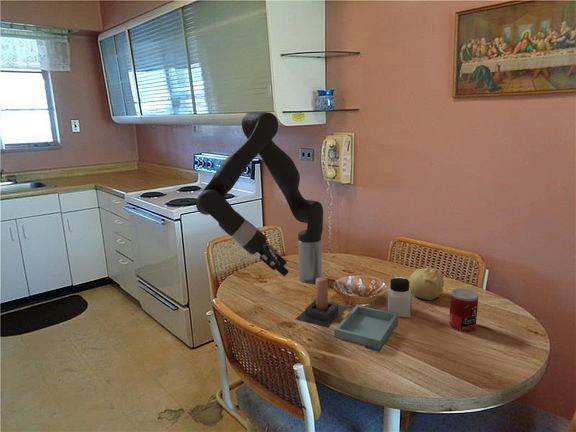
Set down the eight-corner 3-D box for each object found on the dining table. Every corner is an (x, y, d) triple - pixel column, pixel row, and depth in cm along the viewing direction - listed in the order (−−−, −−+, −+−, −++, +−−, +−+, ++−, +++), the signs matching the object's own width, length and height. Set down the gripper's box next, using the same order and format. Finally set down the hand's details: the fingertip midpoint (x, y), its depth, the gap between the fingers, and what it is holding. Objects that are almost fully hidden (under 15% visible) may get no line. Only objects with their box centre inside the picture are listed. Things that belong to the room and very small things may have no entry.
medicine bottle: (410, 318, 135) (412, 284, 132) (388, 316, 136) (389, 282, 133) (408, 308, 142) (410, 275, 139) (387, 306, 143) (388, 274, 140)
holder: (316, 302, 148) (316, 293, 147) (347, 309, 142) (347, 300, 141) (294, 322, 135) (294, 312, 134) (328, 330, 129) (327, 320, 128)
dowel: (319, 309, 141) (318, 276, 138) (329, 311, 139) (329, 278, 136) (314, 314, 137) (313, 280, 135) (324, 316, 135) (324, 282, 133)
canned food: (464, 334, 124) (466, 301, 121) (443, 323, 131) (445, 291, 128) (481, 328, 127) (484, 295, 124) (460, 317, 134) (462, 286, 131)
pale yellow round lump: (439, 305, 143) (440, 276, 140) (404, 298, 149) (405, 270, 146) (446, 293, 152) (447, 265, 150) (413, 287, 158) (414, 260, 156)
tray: (356, 314, 138) (356, 305, 137) (397, 323, 131) (398, 313, 130) (334, 339, 123) (334, 329, 122) (379, 351, 116) (380, 340, 115)
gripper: (256, 234, 122) (295, 268, 126) (256, 222, 136) (291, 253, 140) (239, 252, 123) (279, 285, 127) (241, 238, 137) (276, 269, 141)
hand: (285, 269), depth 133 cm, fingers open, 8 cm apart
